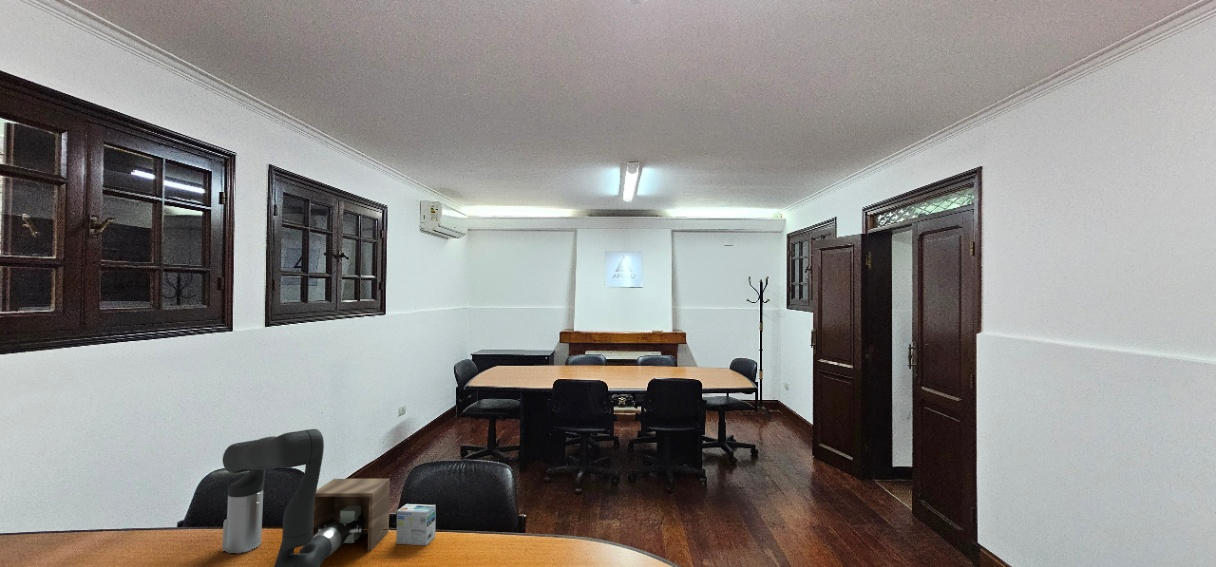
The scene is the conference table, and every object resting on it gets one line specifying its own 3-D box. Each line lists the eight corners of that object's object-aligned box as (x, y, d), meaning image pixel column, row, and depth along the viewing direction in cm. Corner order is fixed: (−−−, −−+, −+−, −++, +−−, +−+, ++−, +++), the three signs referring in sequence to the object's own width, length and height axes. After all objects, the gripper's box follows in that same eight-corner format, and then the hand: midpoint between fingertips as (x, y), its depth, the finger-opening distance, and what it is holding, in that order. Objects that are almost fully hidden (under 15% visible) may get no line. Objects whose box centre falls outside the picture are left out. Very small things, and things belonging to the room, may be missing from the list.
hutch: (309, 551, 160) (311, 493, 161) (331, 532, 174) (333, 478, 175) (370, 551, 160) (372, 493, 161) (388, 532, 174) (389, 478, 175)
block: (339, 542, 164) (340, 511, 165) (346, 536, 169) (347, 505, 169) (353, 542, 165) (354, 511, 165) (359, 536, 169) (360, 505, 170)
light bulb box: (435, 537, 171) (436, 504, 172) (426, 546, 164) (427, 512, 165) (405, 535, 172) (406, 502, 173) (395, 544, 166) (396, 510, 166)
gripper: (352, 527, 153) (376, 505, 170) (304, 527, 153) (332, 505, 170) (351, 553, 153) (375, 528, 170) (303, 553, 152) (331, 528, 169)
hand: (354, 517), depth 170 cm, fingers closed on block, 4 cm apart
